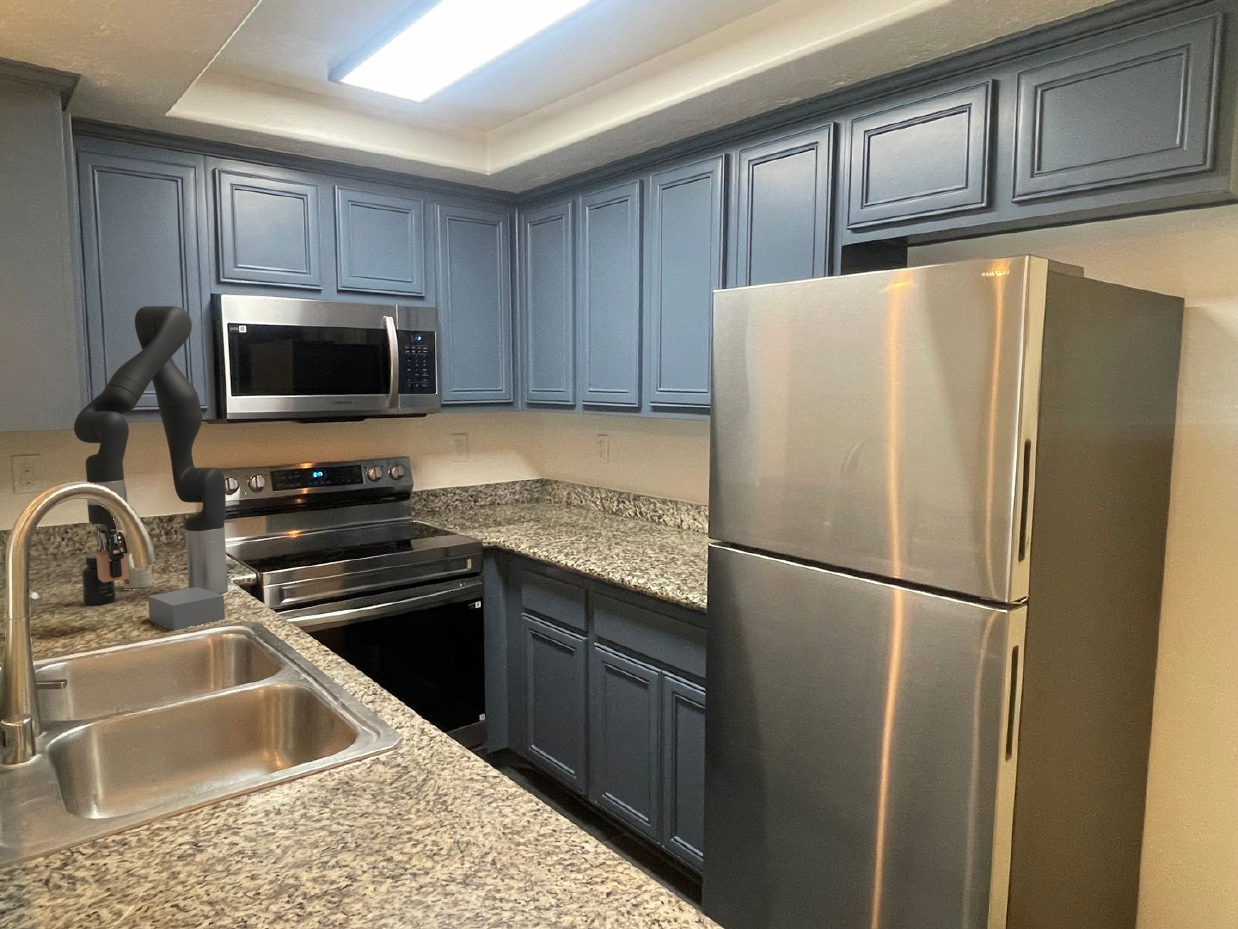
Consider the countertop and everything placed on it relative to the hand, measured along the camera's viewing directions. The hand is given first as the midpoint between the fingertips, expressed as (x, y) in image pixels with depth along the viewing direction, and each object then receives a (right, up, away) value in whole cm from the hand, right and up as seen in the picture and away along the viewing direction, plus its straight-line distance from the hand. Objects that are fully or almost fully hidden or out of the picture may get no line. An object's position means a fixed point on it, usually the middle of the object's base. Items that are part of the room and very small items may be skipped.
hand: (113, 575), depth 180 cm
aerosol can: (-17, -9, +38) cm, 43 cm away
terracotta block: (0, -1, 0) cm, 1 cm away
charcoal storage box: (+14, -11, +5) cm, 19 cm away
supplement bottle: (-18, -10, +22) cm, 30 cm away
